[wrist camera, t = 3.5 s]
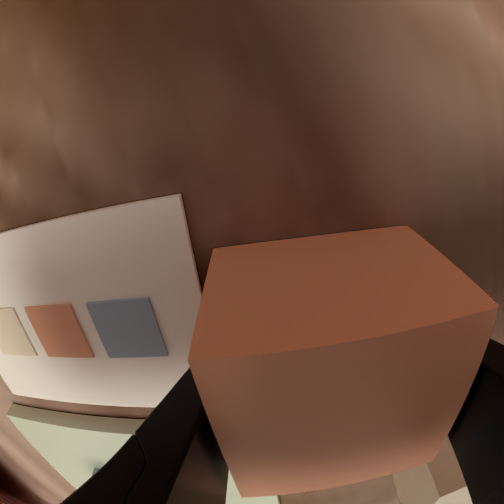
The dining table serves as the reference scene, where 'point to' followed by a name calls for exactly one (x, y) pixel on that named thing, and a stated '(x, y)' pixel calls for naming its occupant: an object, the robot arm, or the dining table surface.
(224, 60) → the dining table surface
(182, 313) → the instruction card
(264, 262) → the brick
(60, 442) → the plate
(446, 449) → the brick
